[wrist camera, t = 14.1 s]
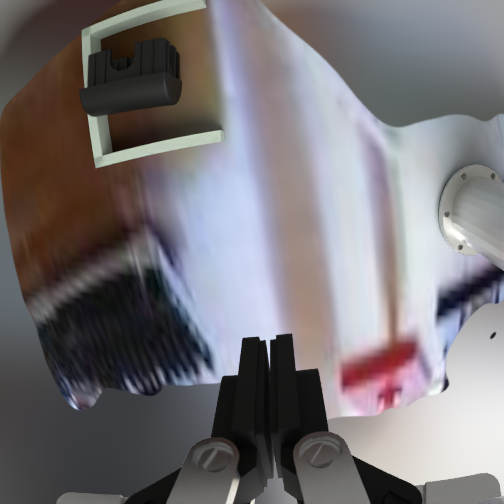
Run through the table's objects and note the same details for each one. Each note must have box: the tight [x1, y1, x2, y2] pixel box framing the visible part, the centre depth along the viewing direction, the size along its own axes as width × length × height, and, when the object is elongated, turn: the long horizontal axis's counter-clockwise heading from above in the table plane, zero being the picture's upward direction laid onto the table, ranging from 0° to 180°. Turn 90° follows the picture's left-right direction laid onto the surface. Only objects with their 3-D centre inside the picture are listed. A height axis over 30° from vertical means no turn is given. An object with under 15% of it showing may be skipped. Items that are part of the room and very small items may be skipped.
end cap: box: [80, 38, 182, 117], centre depth 28 cm, size 10×7×7 cm
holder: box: [82, 0, 225, 168], centre depth 30 cm, size 15×18×3 cm
